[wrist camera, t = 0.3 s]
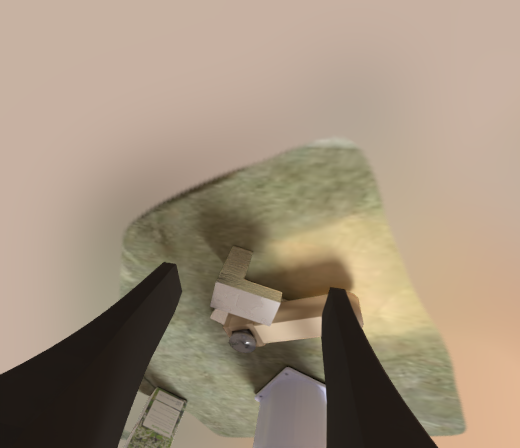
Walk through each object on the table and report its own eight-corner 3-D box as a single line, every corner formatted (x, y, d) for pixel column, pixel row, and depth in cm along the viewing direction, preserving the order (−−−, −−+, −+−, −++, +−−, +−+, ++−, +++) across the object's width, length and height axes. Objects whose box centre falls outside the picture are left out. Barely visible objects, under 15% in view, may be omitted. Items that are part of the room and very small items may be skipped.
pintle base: (264, 338, 31) (258, 375, 27) (212, 312, 30) (197, 346, 26) (295, 304, 27) (292, 341, 23) (236, 274, 26) (223, 306, 23)
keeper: (277, 284, 26) (270, 326, 22) (227, 268, 26) (210, 306, 22) (286, 262, 25) (280, 303, 20) (233, 245, 25) (215, 281, 20)
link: (242, 328, 29) (236, 348, 27) (230, 308, 27) (223, 327, 25) (362, 311, 24) (367, 334, 22) (354, 286, 23) (358, 308, 21)
